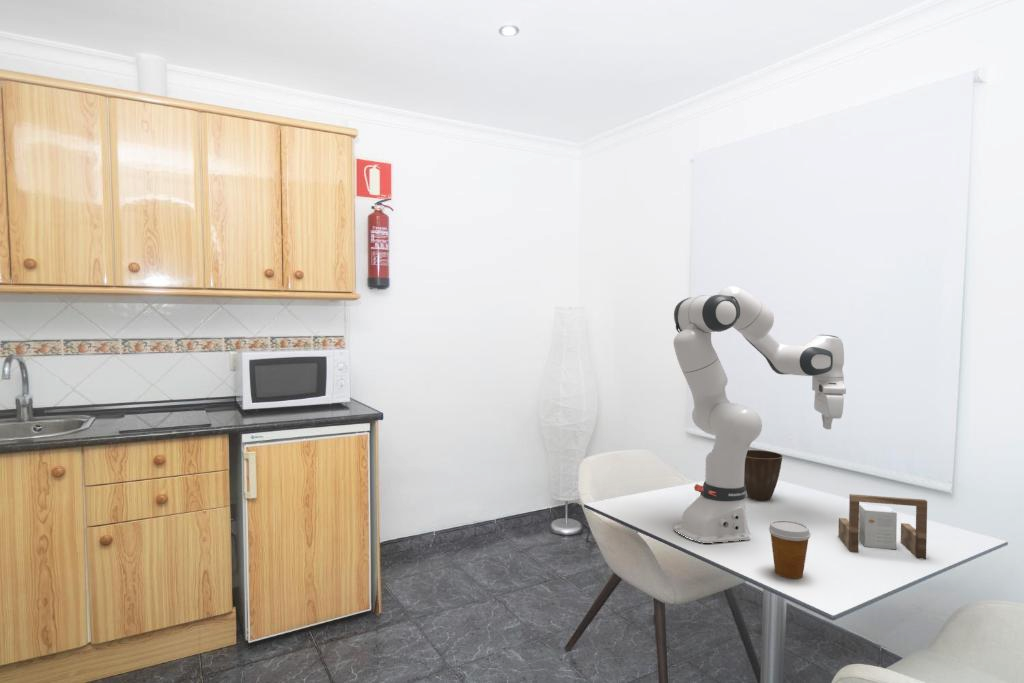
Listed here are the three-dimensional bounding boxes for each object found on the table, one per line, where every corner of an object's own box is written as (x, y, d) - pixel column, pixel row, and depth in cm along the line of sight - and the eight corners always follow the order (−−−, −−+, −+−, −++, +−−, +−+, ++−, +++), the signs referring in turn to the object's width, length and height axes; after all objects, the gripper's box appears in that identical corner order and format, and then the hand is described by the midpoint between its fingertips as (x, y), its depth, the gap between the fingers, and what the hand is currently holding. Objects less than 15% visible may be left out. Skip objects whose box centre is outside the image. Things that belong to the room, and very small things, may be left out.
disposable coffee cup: (791, 584, 138) (791, 535, 138) (759, 569, 147) (760, 522, 146) (819, 577, 142) (819, 529, 142) (786, 563, 151) (787, 517, 150)
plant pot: (729, 497, 208) (729, 453, 208) (748, 489, 218) (748, 447, 218) (770, 507, 197) (771, 460, 197) (788, 498, 207) (789, 454, 207)
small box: (889, 542, 165) (890, 506, 165) (896, 550, 160) (897, 512, 159) (858, 539, 167) (858, 503, 167) (864, 546, 162) (864, 509, 162)
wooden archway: (838, 536, 170) (839, 484, 169) (908, 542, 165) (909, 489, 165) (850, 551, 158) (851, 495, 158) (926, 559, 153) (927, 501, 153)
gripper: (809, 382, 196) (808, 422, 196) (824, 388, 176) (823, 433, 176) (830, 382, 194) (829, 423, 194) (847, 389, 174) (846, 434, 175)
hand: (826, 428), depth 185 cm, fingers closed
